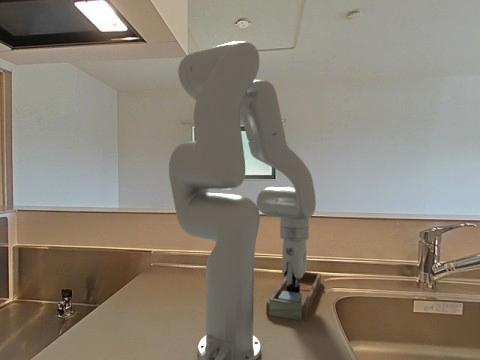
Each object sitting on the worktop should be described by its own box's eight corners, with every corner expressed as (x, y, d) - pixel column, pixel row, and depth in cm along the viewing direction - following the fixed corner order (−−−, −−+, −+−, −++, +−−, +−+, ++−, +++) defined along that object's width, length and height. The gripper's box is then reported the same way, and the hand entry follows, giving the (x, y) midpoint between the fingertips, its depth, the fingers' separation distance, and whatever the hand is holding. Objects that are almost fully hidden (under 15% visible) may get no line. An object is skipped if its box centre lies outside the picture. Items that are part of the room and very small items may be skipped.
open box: (304, 321, 79) (304, 305, 79) (266, 314, 83) (266, 298, 83) (320, 283, 105) (320, 270, 105) (290, 278, 108) (291, 267, 108)
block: (297, 316, 82) (297, 301, 81) (277, 313, 84) (278, 297, 83) (301, 308, 86) (301, 293, 86) (282, 305, 88) (282, 290, 88)
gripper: (303, 239, 80) (301, 313, 81) (312, 228, 94) (311, 291, 95) (273, 237, 83) (272, 308, 84) (287, 226, 97) (286, 287, 98)
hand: (293, 299), depth 89 cm, fingers closed
